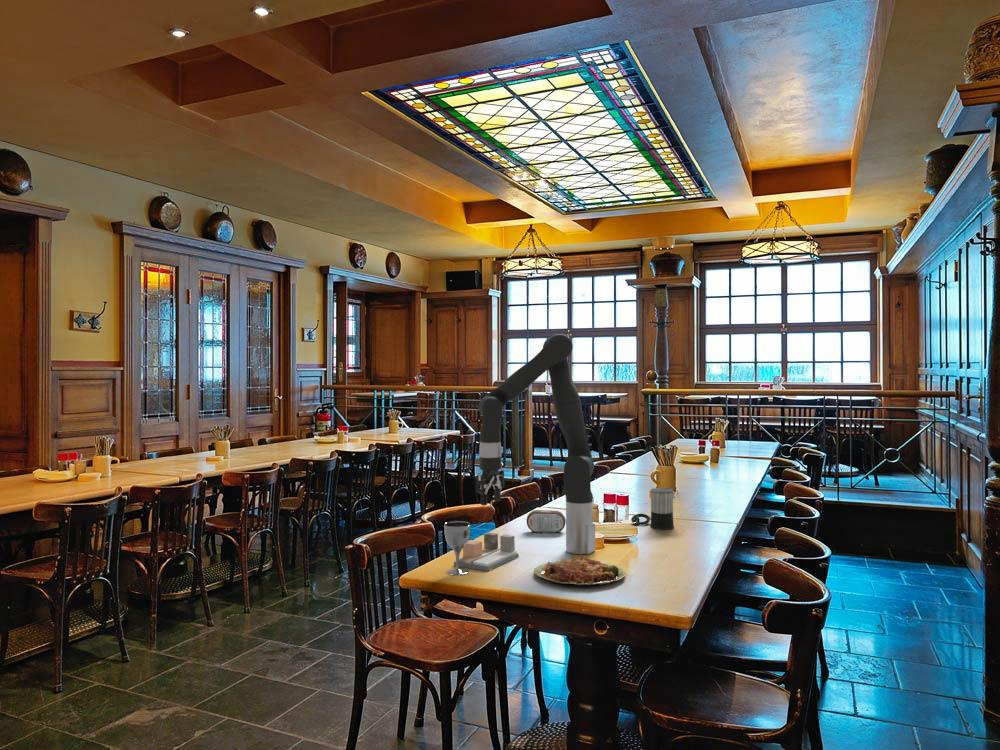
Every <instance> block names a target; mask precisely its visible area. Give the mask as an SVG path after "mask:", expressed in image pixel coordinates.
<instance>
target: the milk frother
mask: <svg viewBox="0 0 1000 750" xmlns="http://www.w3.org/2000/svg"><path fill="white" fill-rule="evenodd" d="M649 492H650V516H649V515H647V514H645V513H637V514H635V515H633V516H632V517H631V519H630V520H631V523H633V522H636V523H637V524H636V525H638V526H645V525H648V524H649V523H650V525H649V527H650V528H653V529H658V530H672V529H674V528H675V525H674V489H671V488H667V487H666V488H664V487H655V488H650V489H649ZM640 518H645V519H646V520H645V521H640V520H641V519H640Z"/></svg>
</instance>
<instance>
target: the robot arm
mask: <svg viewBox="0 0 1000 750" xmlns="http://www.w3.org/2000/svg"><path fill="white" fill-rule="evenodd" d="M573 348H574V347H573V342H572V340H571V338H570V337H569V336H567V335H566V334H564V333H563V334H562V333H556V334H553V335H552V336H549V337H548V338H547V339H545V341H544V343H543V345H542V349H541V350H540V351H539V352H538V353H537V354H536V355H535V356H534V357H532V358H531V359H530V360H529V361H528V362H526V363H525V364H524V365H522V366H521V367H520V368H519V369H516V370H515V371H514V372H513V373H512V374H511V375H510V376H508V377H507V378H506V379H505V380H504V381H503V382H502V383H501V384H500V385H498V386H497V387H495V388H494V389H492V390H491V391H490V392H488V393H487V394H486V395H484V396H483V397H482V398H481V399H480V400H479V401H478V404H477V405H478V407H477V408H478V411H479V414H480V415H482V417H481V418H482V423H481V424H482V425H481V426H480V429H479V449H478V450H479V453H478V454H479V461H478V462H479V469H480V470H481V471H482V472H481V474H477V475H476V477H475V480H476V481H475V482H476V483H475V492H476V493H478V494H479V496H480V501H479V502H480V505H481V506H487V505H488V491H489V489H490V488H491V487H493V489H494V490H493V501H494V502H501V495H502V494H501V492H502V488H505V470H503V468H502V458H503V457H502V443H501V440H502V439H501V437H502V436H501V433H502V431H501V425H502V420H503V407H504V406H505V405H506V404H507V403H510V402H512V401H514V400H515V399H517V397H519V396H520V395H521V394H522V393H524V392H525V391H526V390H527V389H528V388H529V387H530V386H531V385H532V384H533V383H534V382H535V381H536V380H538V378H540V377H541V376H542V375H543V374H544V373H545V372H546V371H548V373H549V374H548V375H549V377H550V387H551V393H552V394H551V395H552V400H553V405H554V410H555V416H556V420H557V423H558V425H559V428H560V430H561V432H562V435H563V437H564V439H565V442H566V445H567V446H566V447H567V452H568V458H567V459H566V461H565V463H564V466H563V489H564V495H565V520H566V523H565V550H566V552H567V553H569V554H575V555H590V554H592V553H594V552H595V551H596V523H595V522H594V514H593V513H594V512H593V511H594V510H593V509H594V507H593V504H594V503H593V500H594V495H593V492H592V489H591V476H592V475H593V473H594V471H595V463H594V459H593V456H592V453H591V450H590V449H591V448H590V447H589V446H590V445H589V443H588V437H587V434H586V433H587V432H586V425H585V420H584V413H583V408H582V407H583V406H582V403H581V398H580V394H579V391H578V390H577V389H578V388H577V387H576V385H575V382H574V381H573V378H572V376H571V373H570V368H569V360H568V358H569V357H570V355H571V353H572V351H573Z"/></svg>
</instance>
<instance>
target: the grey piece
mask: <svg viewBox="0 0 1000 750" xmlns="http://www.w3.org/2000/svg"><path fill="white" fill-rule="evenodd" d="M483 543H484V545H483V547H482V556H484V555H486V554H488V553H491V552H493V551H495V550H498V549H500V548H499V533H496V532H485V533H483ZM480 557H481V556H480ZM477 558H479V557H477ZM477 558H475V559H477ZM472 560H474V558H467V557H463V555H461V556H459V562H462V563H468V564H470V561H472Z"/></svg>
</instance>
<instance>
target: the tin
mask: <svg viewBox="0 0 1000 750" xmlns="http://www.w3.org/2000/svg"><path fill="white" fill-rule="evenodd" d="M526 525H527V527H528V529H529V530H530V532H532V533H536V532H558V533H560V532H562V531H563V530H564V528H566V516H565V515H564V514H563V513H562V512H561V511H560V510H559V511H558V510H549V509H548V510H545V509H544V510H543V509H535V510H532V511H530V512H529V513H528V515H527V517H526Z"/></svg>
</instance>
